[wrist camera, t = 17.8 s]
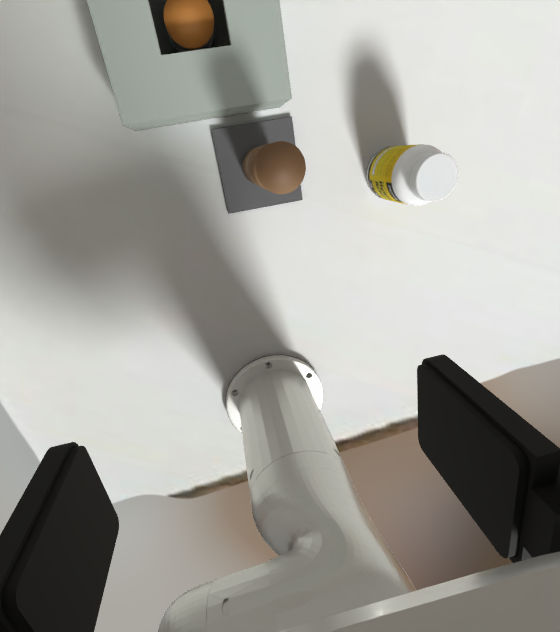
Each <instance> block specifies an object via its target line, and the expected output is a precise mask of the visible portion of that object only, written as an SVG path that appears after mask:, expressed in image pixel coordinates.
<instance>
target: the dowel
mask: <svg viewBox="0 0 560 632" xmlns="http://www.w3.org/2000/svg"><path fill="white" fill-rule="evenodd" d="M242 170H243V173H244V175H245V177H246V178H247V179H248V180H249V181H250V182H252V183H254V184H256V185H258V186H260V187H262V188H264V189H266V190H268V191H270V192H272V193H275V194H287V193H290V192H292V191H294V190H295V189H296V188H297V187H298V186H299V185H300V184H301V182H302V181H303V178H304V175H305V170H306V166H305V160H304V157H303V155H302V153H301V151H300V150H299V149H298V148H297V147H296V146H295V145H293V144H291V143H289V142H285V141H277V142H273V143H270V144H266V145H263V146H259V147H256V148H253V149H251V150H249V151H248V152H247V153H246V154H245V156H244V158H243V161H242Z"/></svg>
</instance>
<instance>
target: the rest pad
mask: <svg viewBox="0 0 560 632" xmlns="http://www.w3.org/2000/svg"><path fill="white" fill-rule="evenodd" d="M211 131H212V136H213V140H214V145H215V150H216V155H217V160H218V165H219V169H220V174H221V179H222V184H223V189H224V194H225V198H226V203H227V208H228V213H235V212H240V211H245V210H251V209H256V208H261V207H267V206H272V205H277V204H283V203H288V202H293V201H299V200H302V193H301V185H299V186H298V187H297V188H296V189H295V190H294V191H292V192H290V193H287V194H275V193H272V192H270V191H268V190H266V189H264V188H262V187H260V186H258V185H256V184H254V183H252V182H250V181H249V180H248V179H247V178H246V177H245V175H244V173H243V170H242V161H243V158H244V156H245V154H246V153H247V152H248V151H249V150H251V149H253V148H256V147H259V146H263V145H266V144H270V143H273V142H277V141H285V142H289V143H291V144H293V145H295V138H294V131H293V123H292V117H287V118H280V119H274V120H268V121H262V122H256V123H250V124H244V125H238V126H232V127H226V128H220V129H213V130H211Z"/></svg>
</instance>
